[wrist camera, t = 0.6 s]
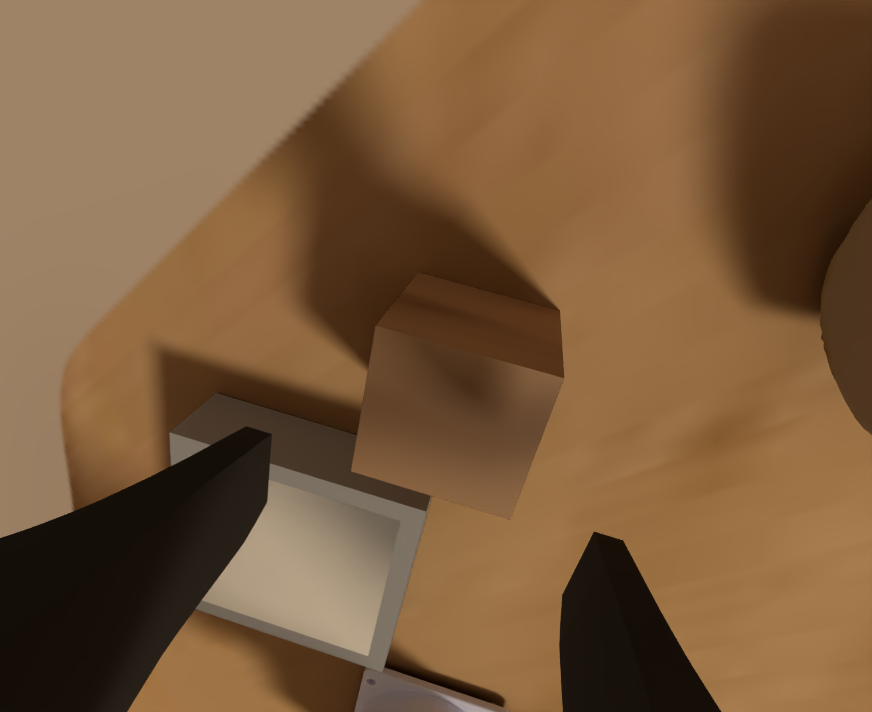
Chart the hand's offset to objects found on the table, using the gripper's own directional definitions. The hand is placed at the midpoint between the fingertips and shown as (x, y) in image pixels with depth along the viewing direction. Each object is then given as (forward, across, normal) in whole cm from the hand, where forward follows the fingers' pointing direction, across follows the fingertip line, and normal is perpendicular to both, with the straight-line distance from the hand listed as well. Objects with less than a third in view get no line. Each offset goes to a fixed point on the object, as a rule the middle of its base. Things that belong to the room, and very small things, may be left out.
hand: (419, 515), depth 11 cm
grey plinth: (+8, +5, +10) cm, 14 cm away
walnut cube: (+8, 0, 0) cm, 8 cm away
